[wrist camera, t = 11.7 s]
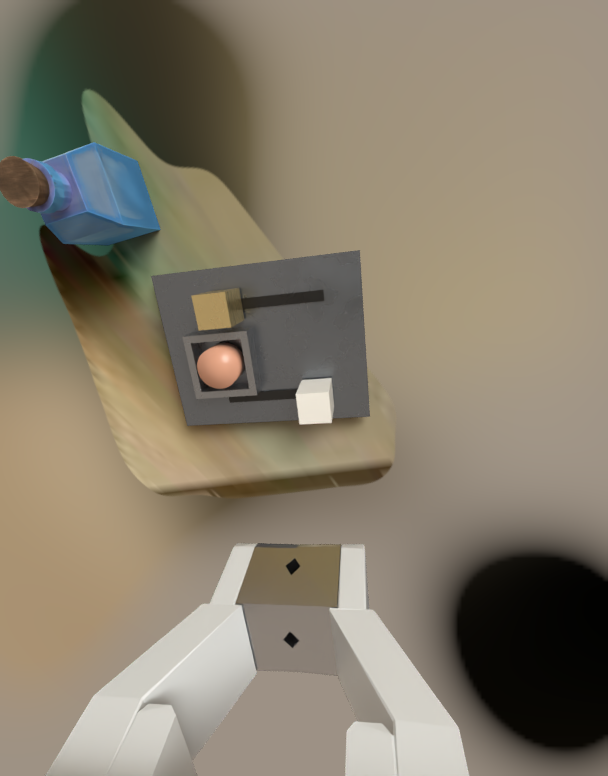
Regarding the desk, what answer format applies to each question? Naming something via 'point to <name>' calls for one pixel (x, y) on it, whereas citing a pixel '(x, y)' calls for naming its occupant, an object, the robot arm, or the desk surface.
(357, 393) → the console
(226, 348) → the push button
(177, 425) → the desk surface
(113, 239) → the perfume bottle
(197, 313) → the brass slider
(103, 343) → the desk surface
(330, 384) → the ivory slider
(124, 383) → the desk surface
